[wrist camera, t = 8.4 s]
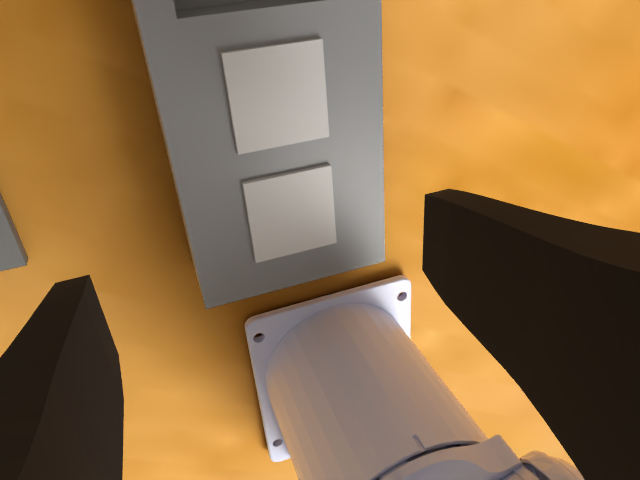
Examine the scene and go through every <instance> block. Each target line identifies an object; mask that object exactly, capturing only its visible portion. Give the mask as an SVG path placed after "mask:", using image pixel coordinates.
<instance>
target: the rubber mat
mask: <svg viewBox="0 0 640 480" xmlns="http://www.w3.org/2000/svg"><path fill="white" fill-rule="evenodd" d="M27 261H28V257H27V254H26V252H25V249H24V247H23V245H22V242H21V240H20V238H19V235H18V233H17V231H16V228H15V226H14V224H13V221H12V219H11V217H10V214H9V212H8V210H7V207H6V205H5V202H4V200H3V198H2V195H1V193H0V271H3V270H8V269H12V268H17V267H21V266H25V265H27Z"/></svg>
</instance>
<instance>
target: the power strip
mask: <svg viewBox="0 0 640 480" xmlns="http://www.w3.org/2000/svg"><path fill="white" fill-rule="evenodd" d="M131 3H132V7H133V12H134V16H135V20H136V24H137V29H138V33H139V37H140V41H141V45H142V50H143V54H144V58H145V62H146V67H147V71H148V75H149V79H150V83H151V88H152V92H153V96H154V100H155V105H156V109H157V113H158V117H159V121H160V126H161V130H162V134H163V138H164V143H165V147H166V151H167V155H168V159H169V164H170V168H171V172H172V176H173V181H174V185H175V189H176V193H177V197H178V202H179V206H180V210H181V214H182V219H183V223H184V227H185V231H186V235H187V240H188V244H189V248H190V252H191V256H192V261H193V265H194V269H195V272H196V276H197V280H198V283H199V287H200V290H201V294H202V297H203V301H204V305H205V308H206V309H209V308H213V307H216V306H220V305H224V304H228V303H231V302H235V301H239V300H243V299H246V298H250V297H254V296H257V295H261V294H265V293H269V292H272V291H276V290H280V289H284V288H287V287H291V286H295V285H298V284H302V283H306V282H310V281H313V280H317V279H321V278H325V277H328V276H332V275H336V274H339V273H343V272H347V271H351V270H354V269H358V268H362V267H366V266H369V265H373V264H377V263H380V262H384V261H385V225H384V155H383V84H382V14H381V0H131Z"/></svg>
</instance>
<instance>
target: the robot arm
mask: <svg viewBox="0 0 640 480" xmlns="http://www.w3.org/2000/svg"><path fill="white" fill-rule="evenodd" d="M422 270H423V272H424V273H425V275H426V276H427V278H428V279H429V281H430V283H431V284H432V286H433V287H434V289H435V290H436V292H437V293H438V294H439V296H440V297H441V299H442V300H443V302H444V303H445V304H446V305H447V306H448V308H449V309H450V310H451V311H452V312H453V313H454V314H455V315H456V316H457V318H458V319H459V320H460V321H461V322H462V323H463V324H464V325H465V326H466V328H467V329H468V330H469V331H470V332H471V333H472V334H473V335H474V336H475V337H476V338H477V339H478V341H479V342H480V343H481V344H482V345H483V346H484V347H485V348H486V349H487V350H488V351H489V352H490V354H491V355H492V356H493V357H494V358H495V359H496V360H497V361H498V362H499V363H500V364H501V365H502V367H503V368H504V369H505V370H506V371H507V372H508V373H509V375H510V376H511V377H512V378H513V379H514V380H515V382H516V383H517V384H518V385H519V386H520V388H521V389H522V390H523V392H524V393H525V395H526V396H527V397H528V399H529V400H530V401H531V403H532V404H533V405H534V407H535V408H536V409H537V411H538V412H539V413H540V415H541V416H542V418H543V419H544V420H545V422H546V423H547V425H548V426H549V427H550V429H551V430H552V432H553V433H554V435H555V436H556V438H557V439H558V440H559V442H560V443H561V445H562V446H563V448H564V449H565V451H566V452H567V454H568V455H569V456H570V458H571V459H572V461H573V462H574V464H575V466H576V467H577V468H575V467H574V466H573V465H571V464H570V463H568V462H566V461H564V460H562V459H559V458H555V457H552V456H549V455H547V454H545V453H543V452H540V451H531V452H529V453H527V454H526V455H524V456H522V457H521V458H520V459H519V458H518V457H517V456H516V454H515V453H514V452H513V451H512V449H511V448H510V447H509V446H508V445H507V443H506V442H505V441H504V440H503V438H502V437H501V436H500V435H495V436H493V437H491V438H490V439H488V438H487V437H486V436H485V434H484V433H483V432H482V430H481V429H480V428H479V426H478V425H477V424H476V423H475V421H474V420H473V419H472V417H471V416H470V415H469V414H468V412H467V411H466V410H465V408H464V407H463V406H462V405H461V403H460V402H459V401H458V399H457V398H456V397H455V396H454V394H453V393H452V392H451V390H450V389H449V388H448V387H447V385H446V384H445V383H444V381H443V380H442V379H441V378H440V376H439V375H438V374H437V372H436V371H435V370H434V369H433V367H432V366H431V365H430V363H429V362H428V361H427V360H426V358H425V357H424V356H423V354H422V353H421V352H420V351H419V349H418V348H417V347H416V345H415V344H414V343H413V342H412V340H411V339H410V329H411V282H410V280H409V279H408V278H407V277H406V276H404V275H398V276H395V277H391V278H388V279H384V280H380V281H377V282H373V283H370V284H366V285H362V286H359V287H355V288H352V289H348V290H344V291H341V292H337V293H334V294H330V295H326V296H323V297H319V298H316V299H312V300H308V301H305V302H301V303H298V304H294V305H290V306H287V307H283V308H280V309H276V310H272V311H269V312H265V313H262V314H258V315H254V316H252V317H250V318H249V319H248V320H247V321H246V323H245V332H246V337H247V342H248V348H249V353H250V358H251V363H252V369H253V374H254V379H255V384H256V389H257V395H258V400H259V405H260V410H261V416H262V421H263V426H264V431H265V437H266V442H267V447H268V452H269V456H270V459H271V460H272V461H274V462H280V461H283V460H286V459H289V458H291V460H292V463H293V465H294V468H295V471H296V474H297V476H298V479H299V480H640V233H637V232H631V231H625V230H619V229H613V228H608V227H602V226H597V225H592V224H588V223H584V222H579V221H575V220H571V219H566V218H562V217H558V216H554V215H550V214H546V213H542V212H539V211H535V210H531V209H528V208H524V207H520V206H517V205H513V204H510V203H506V202H502V201H499V200H495V199H492V198H488V197H484V196H481V195H477V194H473V193H469V192H464V191H459V190H453V189H446V190H442V191H438V192H434V193H429V194H425V206H424V236H423V266H422ZM401 292H403V293H402V294H401V295H400V296H398V295H399V293H401ZM397 296H398V297H397ZM258 333H262V335H261V336H259V337H254V336H255V335H256V334H258ZM123 419H124V397H123V388H122V379H121V371H120V363H119V355H118V352H117V349H116V347H115V344H114V341H113V338H112V336H111V333H110V330H109V327H108V325H107V322H106V319H105V316H104V314H103V311H102V308H101V305H100V303H99V300H98V297H97V294H96V292H95V289H94V286H93V283H92V281H91V278H90V275H87V276H82V277H78V278H74V279H70V280H66V281H62V282H57V283H55V284H54V286H53V287H52V288H51V289H50V291H49V292H48V294H47V295H46V296H45V298H44V299H43V301H42V302H41V303H40V305H39V306H38V308H37V309H36V310H35V312H34V313H33V315H32V316H31V318H30V319H29V320H28V322H27V323H26V324H25V326H24V327H23V329H22V330H21V331H20V333H19V334H18V335H17V337H16V338H15V339H14V341H13V342H12V343H11V345H10V346H9V347H8V349H7V350H6V351H5V353H4V354H3V355H2V356H1V357H0V480H122V468H123ZM277 439H278V440H277Z"/></svg>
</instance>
